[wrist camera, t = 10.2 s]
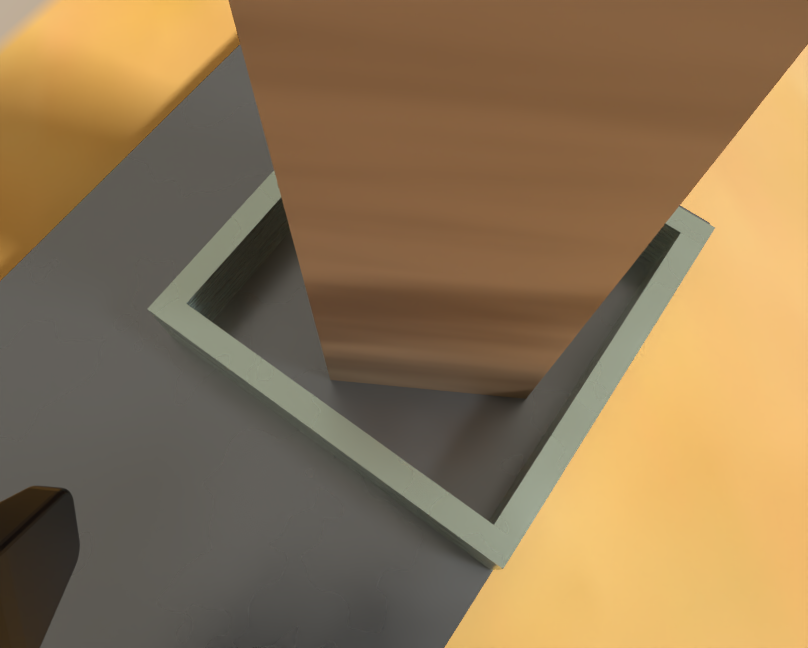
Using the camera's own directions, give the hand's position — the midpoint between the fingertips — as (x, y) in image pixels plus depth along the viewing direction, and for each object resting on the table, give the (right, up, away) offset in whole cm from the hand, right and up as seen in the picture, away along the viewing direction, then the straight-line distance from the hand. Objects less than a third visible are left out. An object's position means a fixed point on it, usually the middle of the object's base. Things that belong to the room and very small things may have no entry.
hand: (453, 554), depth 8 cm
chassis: (-4, +1, +13) cm, 13 cm away
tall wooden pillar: (0, +3, +12) cm, 13 cm away
